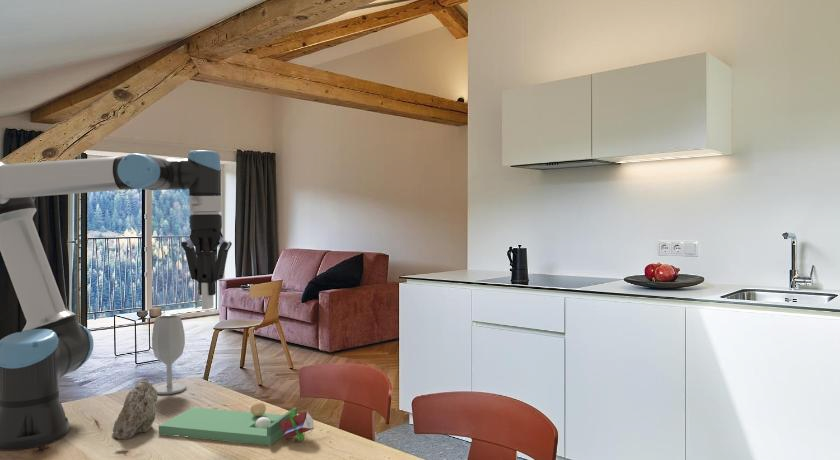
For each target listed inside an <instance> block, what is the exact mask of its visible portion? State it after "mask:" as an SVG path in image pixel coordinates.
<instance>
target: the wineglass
mask: <svg viewBox="0 0 840 460" xmlns="http://www.w3.org/2000/svg"><path fill="white" fill-rule="evenodd" d="M183 323H184V322H183V321H182V319H181V315H177V314H165V315H159V316H156V317H155V320H154V323H153V327H152V335H151V349H152V352H153V354H154V358H155V359H157V360H159V361H160V362H161V363H163V364H164V365H166V383H165V384H161V385H157V386H156V387H153V388H154V389H156V390H157V395H174V394H178V393H181V392H183V391H185V390H186V389H187V388H188V385H186V384H183V383H179V382H178V383H175V382H174V383H173V368H172V367H173V364H174V363H175V362H176V361H177V360H178V359H179V358H180V357H181V356H182V355H183V353H184V349H185V346H186V345H185V344H186V337H185V330H184V325H183Z"/></svg>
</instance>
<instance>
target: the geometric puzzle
mask: <svg viewBox="0 0 840 460" xmlns="http://www.w3.org/2000/svg"><path fill="white" fill-rule="evenodd" d="M294 408H295V407H292V408H291V409H292V410H291V409H290V410H291V412H290V413H289V414H288V415H287V416H289V417H290V418H289V419H286V420H283V419H282V420H283V421H281V422H279V423H280V426H281V428H282V431H283V433H284V435H283V436H284V438H285V440H291V439H292V438H293V439H294V440H293V441H294V442H295V443H297V444H301V443H302V442H303V440H304V438H305V437H306V432H307V434H310V432H312V431H313V430H314V429H315V426H314V418H313V417H312V416H311V415H310V413H309V412H308V411H304V410H302V409H301V410H302V412H300V411H299V410H298V409H297V410H296V411H297V413H298V414H297V415H295V414H296V413H295V412H294V410H293V409H294ZM287 416H286V417H287ZM296 438H297V439H298V440H295V439H296Z"/></svg>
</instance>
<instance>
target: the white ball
mask: <svg viewBox="0 0 840 460" xmlns="http://www.w3.org/2000/svg"><path fill="white" fill-rule="evenodd" d="M270 424H271V422H270V420H269V419H268V418H266V417H261V418H259V419H258V420H257V421H256V424H255V427H256V428H265V429H267V426H269V425H270Z"/></svg>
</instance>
